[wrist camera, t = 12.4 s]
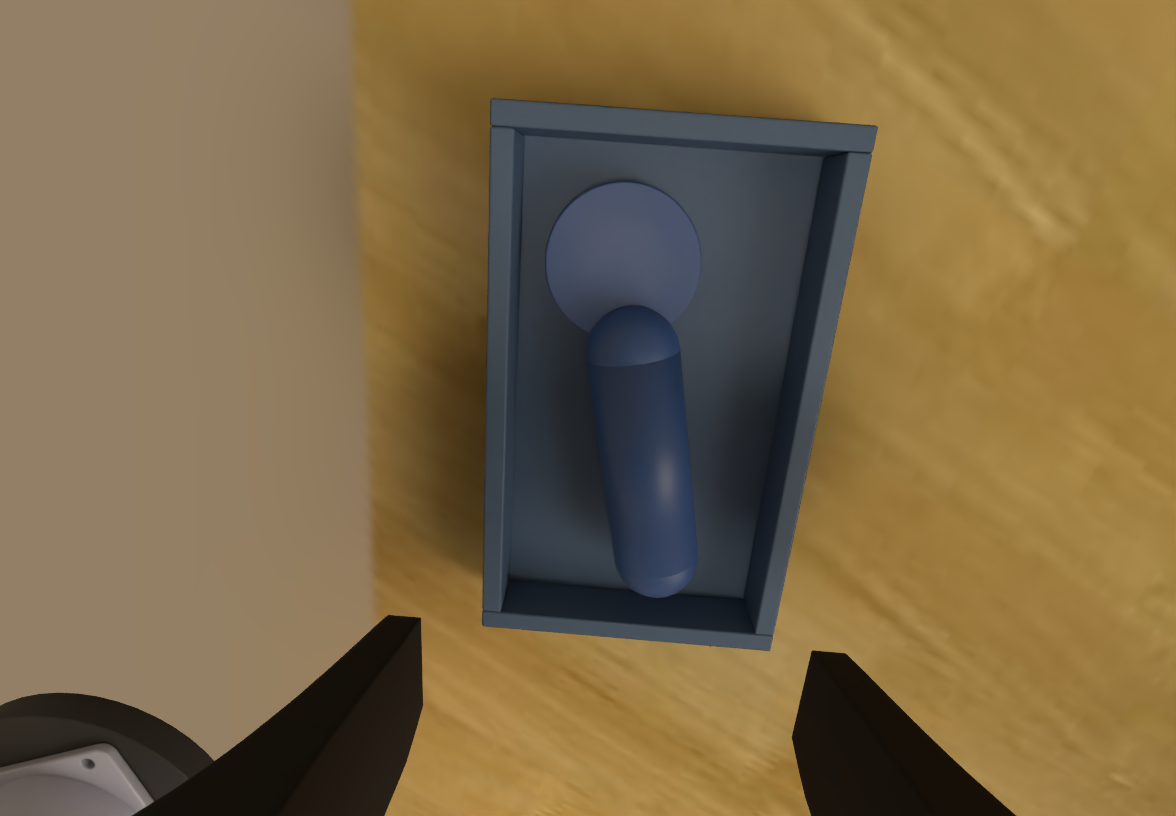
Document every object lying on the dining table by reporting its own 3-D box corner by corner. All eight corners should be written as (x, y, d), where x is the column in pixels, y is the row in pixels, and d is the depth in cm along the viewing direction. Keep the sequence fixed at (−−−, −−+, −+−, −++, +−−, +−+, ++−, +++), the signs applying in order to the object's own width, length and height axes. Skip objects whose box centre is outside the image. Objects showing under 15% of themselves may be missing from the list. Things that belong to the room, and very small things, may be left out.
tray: (754, 605, 21) (770, 652, 19) (495, 583, 21) (481, 627, 19) (843, 136, 16) (878, 125, 14) (506, 111, 16) (489, 97, 14)
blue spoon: (719, 560, 20) (734, 609, 18) (595, 571, 20) (592, 621, 18) (690, 172, 16) (704, 165, 14) (538, 194, 17) (524, 192, 14)
